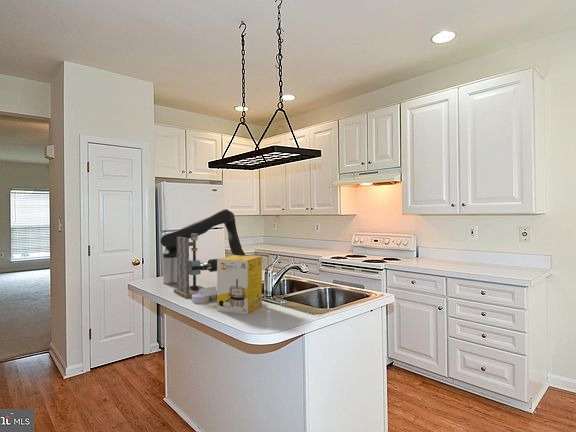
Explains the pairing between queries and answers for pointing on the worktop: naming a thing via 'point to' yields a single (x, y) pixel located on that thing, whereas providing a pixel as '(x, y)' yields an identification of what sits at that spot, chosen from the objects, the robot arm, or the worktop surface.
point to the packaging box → (239, 284)
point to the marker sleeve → (194, 263)
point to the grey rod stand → (185, 267)
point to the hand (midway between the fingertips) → (190, 267)
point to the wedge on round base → (203, 295)
